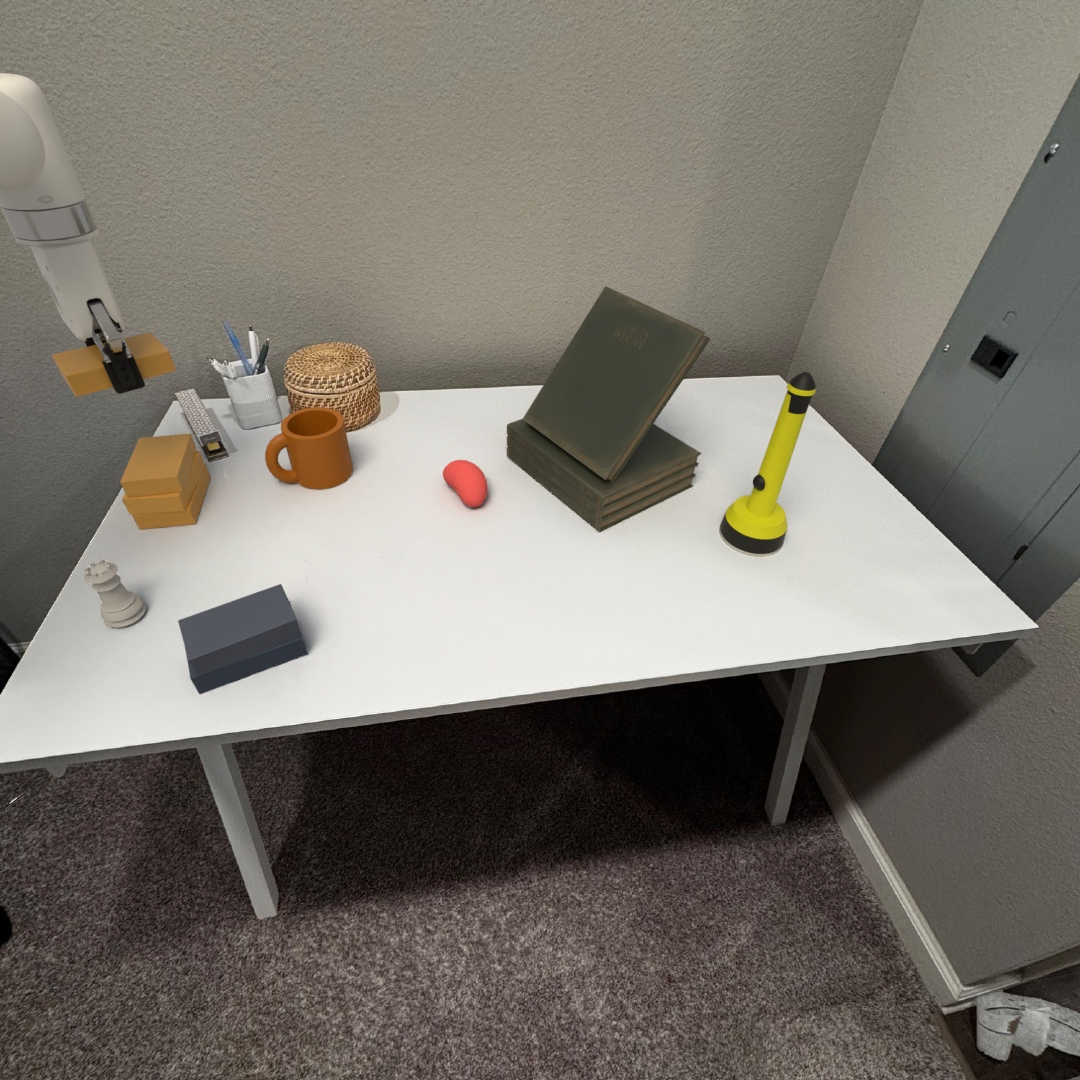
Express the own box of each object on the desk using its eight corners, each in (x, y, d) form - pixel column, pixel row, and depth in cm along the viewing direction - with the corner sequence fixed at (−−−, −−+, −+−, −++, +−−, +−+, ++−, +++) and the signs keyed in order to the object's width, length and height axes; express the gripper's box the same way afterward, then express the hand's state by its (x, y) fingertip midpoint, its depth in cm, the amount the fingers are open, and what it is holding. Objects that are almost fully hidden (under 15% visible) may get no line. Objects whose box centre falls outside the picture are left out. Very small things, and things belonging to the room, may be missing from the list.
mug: (269, 467, 97) (253, 416, 91) (347, 452, 101) (337, 402, 95) (276, 500, 91) (260, 448, 85) (359, 482, 95) (349, 431, 89)
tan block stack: (196, 525, 86) (176, 479, 81) (136, 531, 85) (112, 484, 80) (211, 477, 95) (194, 432, 90) (157, 481, 93) (137, 436, 88)
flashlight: (815, 352, 77) (752, 360, 74) (864, 386, 70) (797, 395, 68) (760, 510, 93) (707, 521, 91) (796, 549, 87) (740, 561, 85)
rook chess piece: (135, 630, 72) (106, 582, 67) (97, 629, 72) (64, 580, 67) (154, 602, 75) (128, 554, 70) (117, 601, 75) (88, 552, 70)
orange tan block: (76, 397, 72) (65, 376, 70) (61, 374, 76) (51, 354, 74) (176, 370, 77) (169, 350, 76) (157, 351, 81) (150, 332, 80)
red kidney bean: (483, 483, 98) (464, 448, 95) (500, 496, 90) (480, 460, 87) (455, 500, 97) (435, 466, 95) (470, 515, 90) (448, 479, 87)
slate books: (199, 695, 66) (181, 662, 62) (191, 650, 70) (173, 617, 66) (309, 655, 70) (298, 622, 67) (295, 615, 75) (284, 582, 71)
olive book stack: (506, 457, 101) (506, 303, 85) (597, 422, 111) (613, 278, 94) (598, 533, 88) (619, 368, 71) (693, 486, 97) (731, 331, 81)
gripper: (-7, 208, 68) (68, 361, 80) (28, 248, 59) (108, 415, 70) (71, 198, 72) (132, 346, 84) (116, 235, 62) (177, 395, 74)
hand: (120, 376), depth 77 cm, fingers closed on orange tan block, 7 cm apart
